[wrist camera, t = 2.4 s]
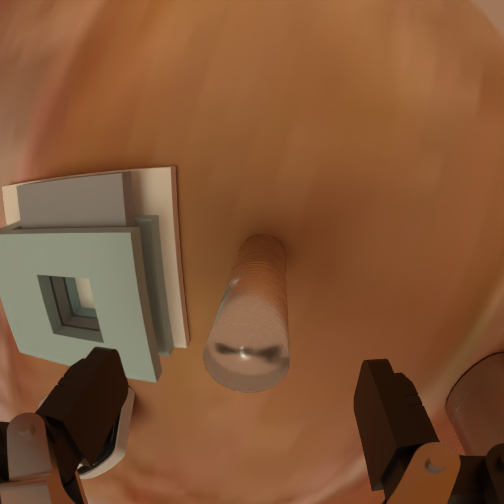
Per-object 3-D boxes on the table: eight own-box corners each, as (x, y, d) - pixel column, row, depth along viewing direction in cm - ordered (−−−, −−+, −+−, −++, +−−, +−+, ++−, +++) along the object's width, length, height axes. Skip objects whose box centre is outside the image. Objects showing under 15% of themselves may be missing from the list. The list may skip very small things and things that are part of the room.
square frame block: (175, 166, 19) (143, 173, 14) (189, 340, 24) (171, 384, 19) (9, 184, 21) (-33, 196, 16) (37, 319, 25) (5, 347, 20)
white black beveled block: (98, 355, 25) (81, 454, 17) (138, 377, 28) (132, 472, 19) (38, 402, 30) (24, 470, 21) (69, 418, 32) (59, 484, 24)
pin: (285, 234, 20) (291, 327, 10) (284, 278, 21) (286, 393, 11) (238, 234, 21) (199, 323, 10) (239, 277, 22) (206, 389, 11)
